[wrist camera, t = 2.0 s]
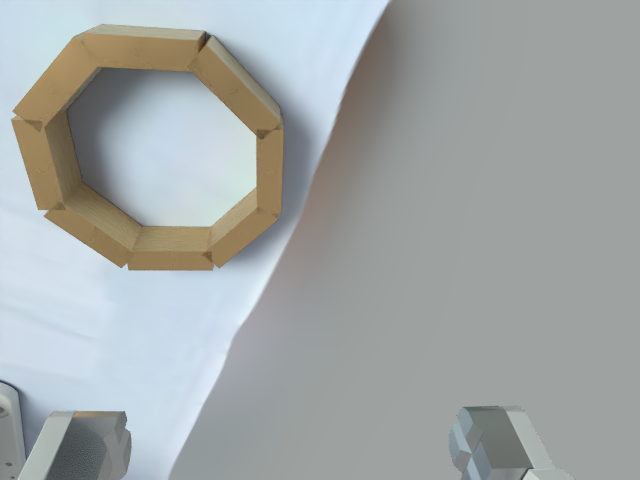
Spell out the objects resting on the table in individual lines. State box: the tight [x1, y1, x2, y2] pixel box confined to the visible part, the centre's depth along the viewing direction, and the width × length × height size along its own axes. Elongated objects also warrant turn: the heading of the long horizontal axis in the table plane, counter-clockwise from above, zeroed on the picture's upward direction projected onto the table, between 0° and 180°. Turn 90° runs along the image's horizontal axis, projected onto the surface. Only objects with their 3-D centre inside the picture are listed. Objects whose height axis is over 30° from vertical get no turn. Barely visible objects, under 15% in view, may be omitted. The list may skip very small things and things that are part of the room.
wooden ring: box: [11, 24, 284, 270], centre depth 26 cm, size 14×14×3 cm
